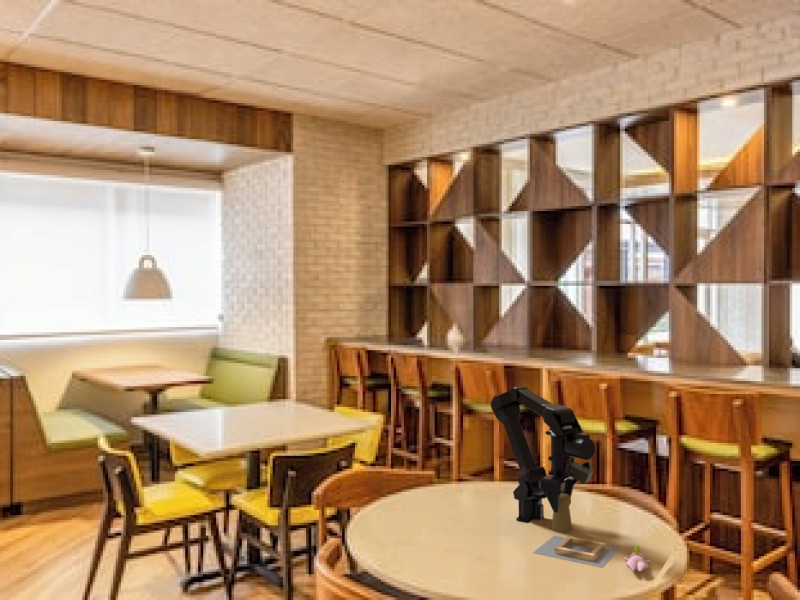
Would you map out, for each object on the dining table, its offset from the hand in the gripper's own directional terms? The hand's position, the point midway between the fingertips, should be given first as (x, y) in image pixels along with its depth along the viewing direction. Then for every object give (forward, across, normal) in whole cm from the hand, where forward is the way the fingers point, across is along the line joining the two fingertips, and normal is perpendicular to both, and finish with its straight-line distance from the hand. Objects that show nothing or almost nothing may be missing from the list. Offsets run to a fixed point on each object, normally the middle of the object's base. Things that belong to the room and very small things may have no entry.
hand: (561, 507), depth 193 cm
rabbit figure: (+7, -16, -25) cm, 30 cm away
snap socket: (+6, -14, -10) cm, 18 cm away
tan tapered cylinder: (+7, 0, 0) cm, 7 cm away
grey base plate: (+7, -14, -9) cm, 18 cm away
